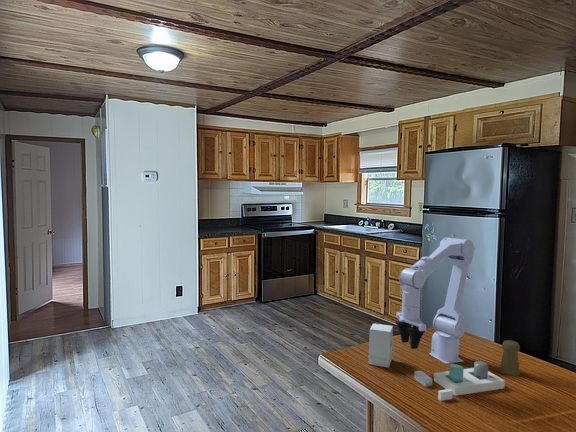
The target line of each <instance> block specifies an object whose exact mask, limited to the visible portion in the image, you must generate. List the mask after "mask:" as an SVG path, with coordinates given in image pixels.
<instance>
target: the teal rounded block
mask: <svg viewBox="0 0 576 432" xmlns="http://www.w3.org/2000/svg"><path fill="white" fill-rule="evenodd" d="M463 369H465V368H464V367H463V365H460V364H455V363H451V364H450V365H449V370H448V371H449V380H451V381H452V382H454V383H462V382H463Z"/></svg>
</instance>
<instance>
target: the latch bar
mask: <svg viewBox="0 0 576 432" xmlns="http://www.w3.org/2000/svg"><path fill="white" fill-rule="evenodd" d="M413 375H414V376H413V379H415V380H416V381H417V382H419V383H420V384H421V385H422V386H424V387H426V388H429V387H433V378H432V376H431V377H430V375H428V374H426V373H425V372H424V371H422V370H416V371H414V373H413Z"/></svg>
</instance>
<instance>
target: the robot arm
mask: <svg viewBox="0 0 576 432" xmlns="http://www.w3.org/2000/svg"><path fill="white" fill-rule="evenodd" d="M474 252H475V246H474V244H473V242H472V240H471V239H464V238H454V237H449V236H446V237H445V236H444V238H443V239H441V240H440V242H439V246H438V247H437V248H436V249H435V250H434V251H433V252H432V253H431V254H430V255H429V256H422V257H420V259H418V260H417V262H415V263H414V264H412V265H411V267H410V268H408V267H406V268H404V269H402V270H401V272H400V274H399V276H398V280H399V283H400V289H401V291H402V294H401V295H402V296H401V297H402V298H401V311H396V313H395V314H396V315H395V318H397V319H398V320H395V324H396V325H397V328H398V332H399V334H400V339H401V340H400V341H401V343H403V344H405V343H409V344H410V349H412V350H415V349H418V348H419V345H420V343H421V339H422V338H423V335H424V334H425V332H426V331H427V324H425V323H424V322H423V320H422V319H421V315H420V314H421V294H422V293H421V292H422V291H421V289H422V287H423V286H424V285H425V282H426V280H428V279H427V278H428V277H429V276H430V275H431V274H432V273H434V271H436V269H437V265H438V264H439V263H441V262H442V261H444V260H445V259H446V258H447V259H448V260H449V261H450V262H451V264H452V269H451V274H450V278H449V284H448V288H447V291H446V292H447V293H446V297H445V301H444V306H443V307H441V308H439V309H437V310H436V311H437V312H436V314H435V317H434V318H433V320H432V326H433V329H434V330H435V332H434V333H433V334H432V336H431V350H430V351H431V352H429V355H430V356H432V358H435V359H438V360H439V361H441V362H442V363H443V364H455V363H459V362H460V363H461V362H464V360H463V359H462V358H460V357H459V353H460V352H459V351H460V338H462V336H464V334H465V332H466V317H465V315H464V314H463V313H462V312H461V305H462V300H463V296H464V291H465V287H466V283H467V278H468V274H469V268H470V265H471V264H472V262H473V257H474Z"/></svg>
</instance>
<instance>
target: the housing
mask: <svg viewBox="0 0 576 432" xmlns="http://www.w3.org/2000/svg"><path fill="white" fill-rule="evenodd" d="M433 381H434V382H435V383H436V384H438V385H439V386H441V387H442V388H444V390H446V389H451V390H452V391H453V395H454V396H463V395H470V394H475V393H481V392H482V393H483V392H488V391H496V390H500V389H501V390H503V389H505V381H506V380H505V379H503V378H501V377H499V376H498V375H496V374H494V373H492V372H491V371H489V370H488V379H483V380H479V379H478V378H476V377H474V367H470V368H464V369H463V382H462V383H454V382H452V381H451V380H449V370H446V371H439V372H433Z"/></svg>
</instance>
